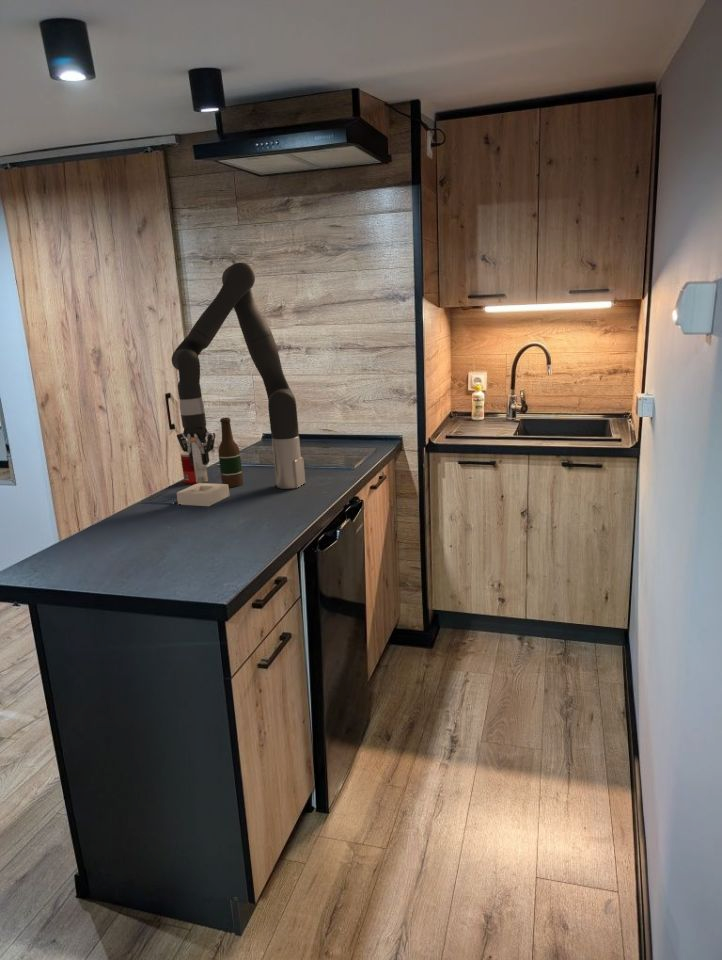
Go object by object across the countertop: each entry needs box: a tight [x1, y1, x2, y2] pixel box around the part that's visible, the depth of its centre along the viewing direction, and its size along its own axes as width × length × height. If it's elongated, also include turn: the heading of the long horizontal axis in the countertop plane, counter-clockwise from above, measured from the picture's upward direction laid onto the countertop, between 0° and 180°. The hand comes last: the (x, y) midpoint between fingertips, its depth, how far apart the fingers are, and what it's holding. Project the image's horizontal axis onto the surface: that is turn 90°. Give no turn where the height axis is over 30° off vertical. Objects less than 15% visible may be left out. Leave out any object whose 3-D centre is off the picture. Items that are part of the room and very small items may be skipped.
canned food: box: [180, 451, 197, 485], centre depth 247 cm, size 8×8×11 cm
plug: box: [191, 437, 210, 483], centre depth 220 cm, size 4×4×15 cm
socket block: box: [176, 482, 230, 507], centre depth 223 cm, size 12×12×4 cm
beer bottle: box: [217, 417, 244, 488], centre depth 238 cm, size 8×8×24 cm
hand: (199, 463), depth 220 cm, fingers closed on plug, 4 cm apart
